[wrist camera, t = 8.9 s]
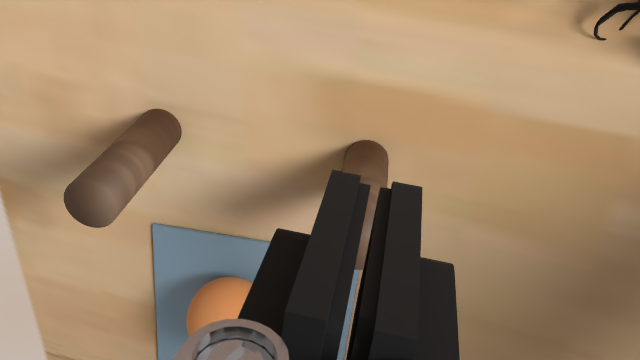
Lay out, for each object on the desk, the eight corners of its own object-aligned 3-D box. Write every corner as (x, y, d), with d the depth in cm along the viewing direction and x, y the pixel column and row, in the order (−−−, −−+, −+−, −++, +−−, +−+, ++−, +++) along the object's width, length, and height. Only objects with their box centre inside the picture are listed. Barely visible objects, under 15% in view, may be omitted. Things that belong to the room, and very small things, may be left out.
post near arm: (391, 143, 33) (388, 227, 25) (384, 182, 35) (379, 273, 27) (347, 137, 33) (331, 218, 26) (342, 175, 35) (324, 264, 27)
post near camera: (181, 112, 34) (115, 184, 26) (181, 151, 35) (118, 231, 27) (138, 105, 34) (60, 175, 26) (140, 145, 35) (66, 223, 28)
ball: (260, 382, 38) (272, 310, 42) (268, 344, 34) (280, 267, 38) (177, 369, 38) (197, 297, 41) (176, 329, 34) (197, 254, 37)
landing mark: (361, 256, 37) (361, 258, 37) (335, 402, 44) (335, 404, 44) (153, 223, 38) (152, 224, 38) (159, 371, 45) (158, 373, 45)
